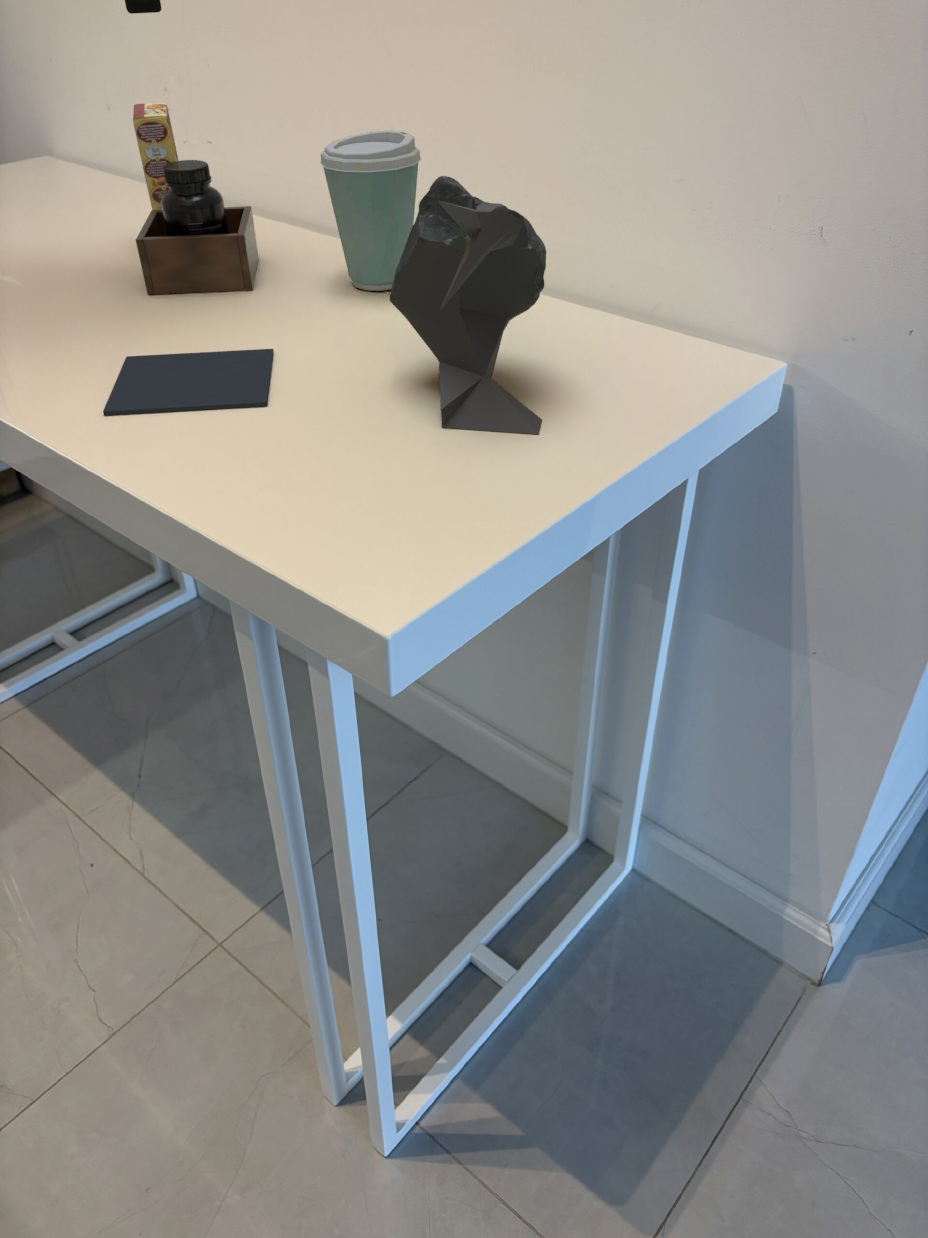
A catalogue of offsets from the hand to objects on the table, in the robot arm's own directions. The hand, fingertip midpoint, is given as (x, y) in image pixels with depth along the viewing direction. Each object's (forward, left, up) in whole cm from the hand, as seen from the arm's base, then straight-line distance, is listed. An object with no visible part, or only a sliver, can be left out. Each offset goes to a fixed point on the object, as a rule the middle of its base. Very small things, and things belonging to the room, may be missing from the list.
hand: (143, 6), depth 92 cm
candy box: (-4, +14, -27) cm, 30 cm away
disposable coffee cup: (+21, -4, -27) cm, 34 cm away
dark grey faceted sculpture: (+28, -34, -27) cm, 52 cm away
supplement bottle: (+1, +1, -27) cm, 27 cm away
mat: (+3, -29, -27) cm, 40 cm away
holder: (+1, +1, -27) cm, 27 cm away
